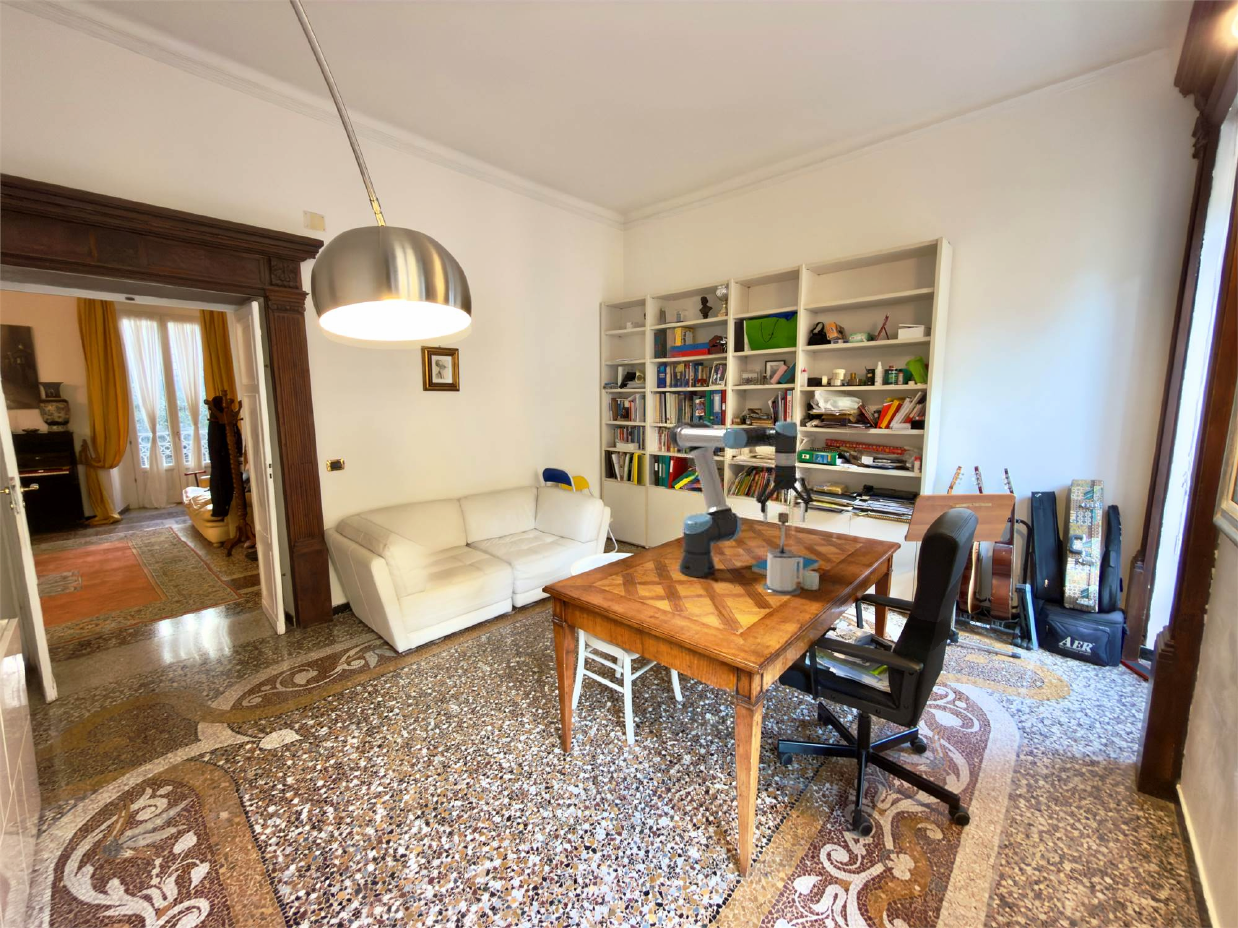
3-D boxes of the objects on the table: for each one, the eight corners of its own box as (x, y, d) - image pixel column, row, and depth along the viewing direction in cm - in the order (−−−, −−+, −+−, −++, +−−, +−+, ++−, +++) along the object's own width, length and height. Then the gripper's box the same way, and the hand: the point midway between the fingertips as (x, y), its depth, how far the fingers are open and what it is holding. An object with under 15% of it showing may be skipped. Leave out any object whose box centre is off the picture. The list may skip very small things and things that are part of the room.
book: (819, 560, 203) (789, 574, 186) (819, 570, 203) (789, 585, 187) (782, 551, 215) (751, 563, 199) (781, 560, 216) (750, 573, 199)
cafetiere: (763, 582, 187) (764, 548, 185) (796, 582, 186) (798, 547, 184) (771, 593, 176) (772, 557, 174) (806, 593, 176) (807, 556, 174)
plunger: (775, 553, 181) (777, 512, 179) (785, 553, 181) (787, 512, 179) (778, 556, 178) (780, 514, 176) (788, 556, 178) (790, 514, 175)
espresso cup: (799, 585, 185) (799, 570, 184) (814, 585, 185) (815, 570, 184) (805, 593, 178) (806, 578, 177) (822, 593, 177) (822, 578, 177)
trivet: (757, 582, 189) (757, 580, 188) (793, 582, 188) (794, 580, 188) (767, 597, 175) (767, 595, 175) (806, 597, 174) (806, 595, 174)
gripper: (753, 466, 171) (752, 524, 174) (824, 465, 170) (822, 523, 173) (748, 463, 179) (747, 519, 182) (816, 462, 178) (814, 518, 181)
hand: (783, 521), depth 177 cm, fingers open, 13 cm apart
